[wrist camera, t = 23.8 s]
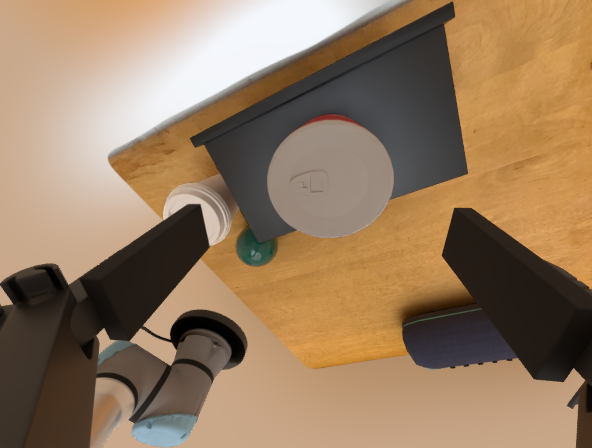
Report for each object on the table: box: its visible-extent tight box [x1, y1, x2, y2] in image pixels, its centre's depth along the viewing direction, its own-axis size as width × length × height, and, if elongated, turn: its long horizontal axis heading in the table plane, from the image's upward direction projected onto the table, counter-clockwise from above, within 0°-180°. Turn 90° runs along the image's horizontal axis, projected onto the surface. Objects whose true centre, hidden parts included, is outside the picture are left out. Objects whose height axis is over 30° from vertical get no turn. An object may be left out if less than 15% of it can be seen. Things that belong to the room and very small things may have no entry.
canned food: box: [267, 114, 394, 238], centre depth 20 cm, size 8×8×11 cm
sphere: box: [235, 226, 278, 267], centre depth 46 cm, size 8×8×8 cm
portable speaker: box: [402, 303, 518, 369], centre depth 47 cm, size 25×10×10 cm, turn 114°
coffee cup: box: [163, 173, 240, 246], centre depth 39 cm, size 10×10×15 cm
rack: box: [190, 1, 468, 243], centre depth 32 cm, size 14×24×18 cm, turn 114°
